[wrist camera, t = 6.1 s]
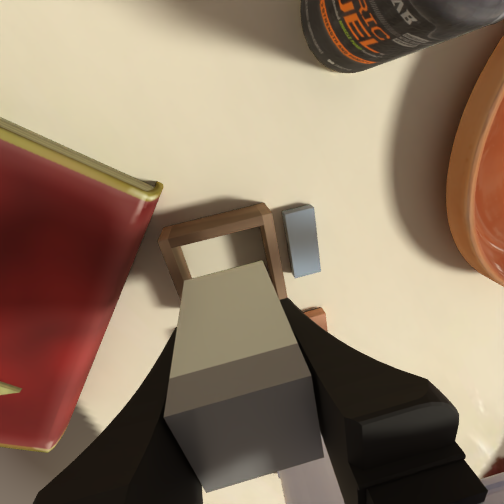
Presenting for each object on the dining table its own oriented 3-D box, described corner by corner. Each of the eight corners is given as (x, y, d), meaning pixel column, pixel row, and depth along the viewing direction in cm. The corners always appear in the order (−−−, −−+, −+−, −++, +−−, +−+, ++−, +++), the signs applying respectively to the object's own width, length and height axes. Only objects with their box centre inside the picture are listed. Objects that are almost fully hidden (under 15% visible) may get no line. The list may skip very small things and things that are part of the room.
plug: (275, 321, 15) (324, 457, 9) (206, 340, 15) (206, 492, 9) (262, 260, 13) (311, 375, 7) (184, 280, 13) (163, 417, 7)
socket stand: (327, 357, 25) (339, 380, 23) (223, 386, 24) (225, 412, 22) (308, 191, 18) (322, 200, 16) (163, 227, 18) (157, 241, 15)
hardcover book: (166, 183, 17) (155, 199, 13) (77, 404, 23) (52, 457, 19) (-71, 74, 13) (-183, 51, 9) (-101, 372, 19) (-175, 431, 16)
